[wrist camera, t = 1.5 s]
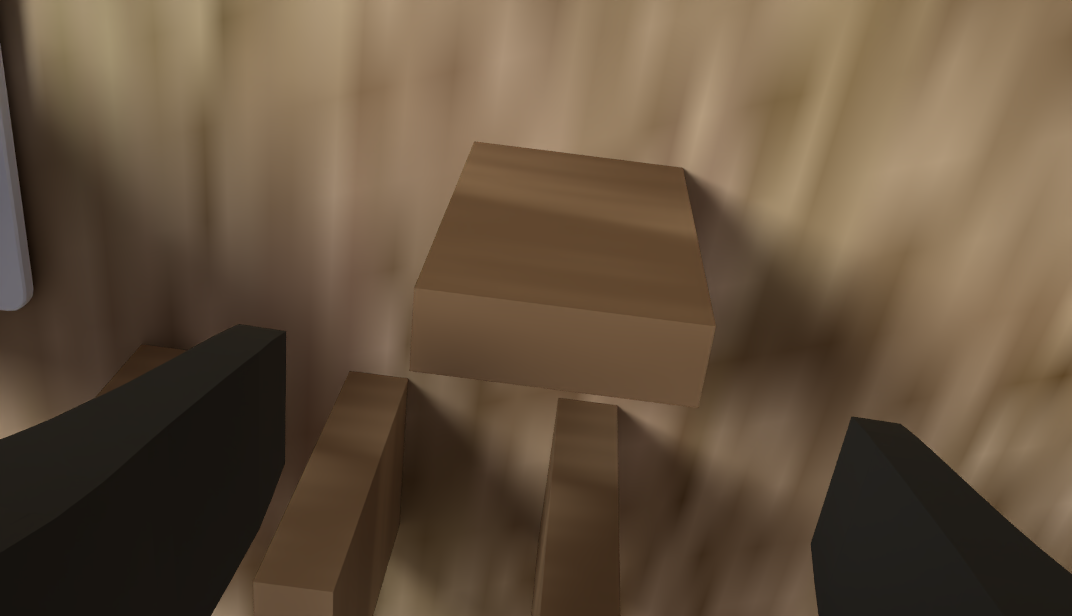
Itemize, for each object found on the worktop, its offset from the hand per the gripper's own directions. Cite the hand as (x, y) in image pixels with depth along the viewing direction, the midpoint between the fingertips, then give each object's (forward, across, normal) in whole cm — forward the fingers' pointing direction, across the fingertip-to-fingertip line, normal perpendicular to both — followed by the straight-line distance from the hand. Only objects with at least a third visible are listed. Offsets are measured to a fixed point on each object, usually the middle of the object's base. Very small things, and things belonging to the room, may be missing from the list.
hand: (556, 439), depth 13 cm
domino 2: (+10, 0, 0) cm, 10 cm away
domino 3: (+10, -1, +8) cm, 12 cm away
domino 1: (+9, +4, +8) cm, 13 cm away
